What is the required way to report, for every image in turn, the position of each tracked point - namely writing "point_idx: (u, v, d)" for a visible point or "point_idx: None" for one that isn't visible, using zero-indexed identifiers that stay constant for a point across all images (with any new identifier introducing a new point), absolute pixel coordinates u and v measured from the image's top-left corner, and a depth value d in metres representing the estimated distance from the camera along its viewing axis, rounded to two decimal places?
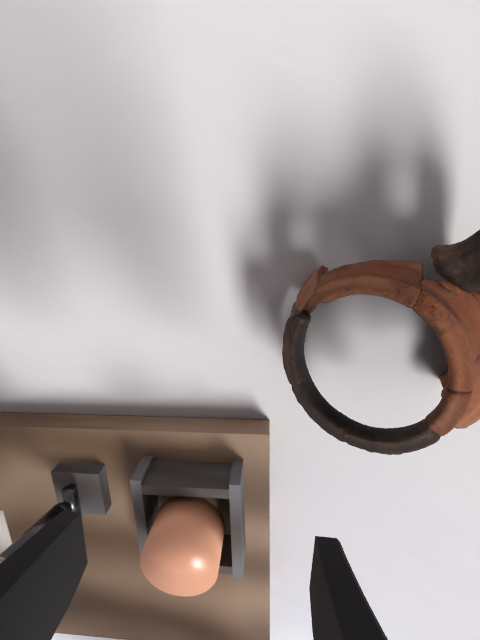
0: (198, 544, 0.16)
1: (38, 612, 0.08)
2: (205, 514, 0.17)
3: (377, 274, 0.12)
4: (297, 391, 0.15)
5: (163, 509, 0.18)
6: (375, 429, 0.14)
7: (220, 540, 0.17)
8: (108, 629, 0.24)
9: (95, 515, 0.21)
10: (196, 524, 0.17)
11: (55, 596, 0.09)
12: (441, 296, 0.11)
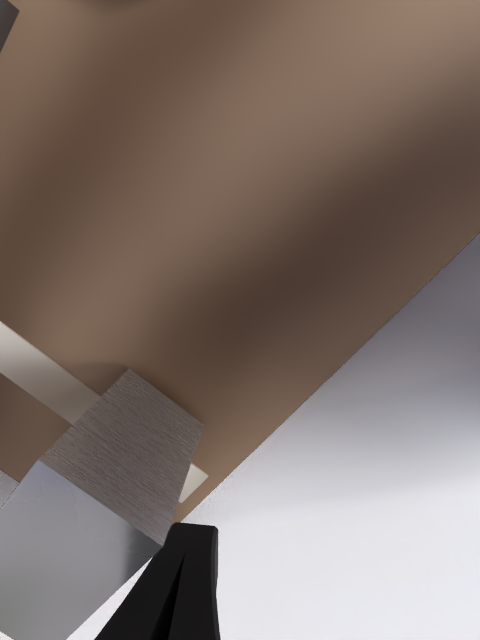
0: None
1: None
2: None
3: None
4: None
5: None
6: None
7: None
8: (314, 349, 0.10)
9: (29, 83, 0.09)
10: None
11: None
12: None
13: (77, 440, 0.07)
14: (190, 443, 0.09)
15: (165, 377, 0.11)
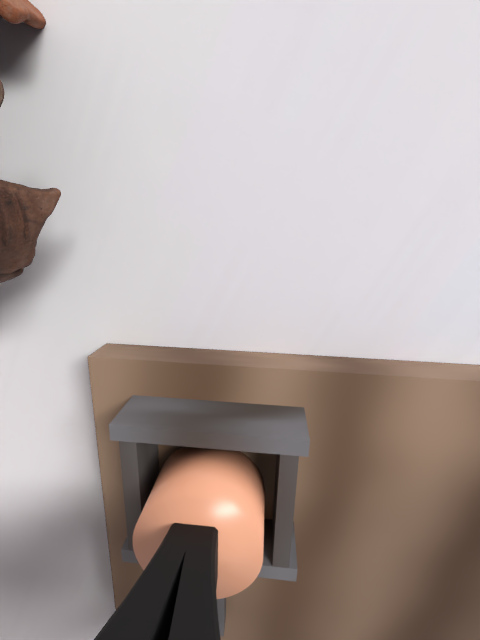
0: (145, 516, 0.10)
1: None
2: (160, 475, 0.11)
3: None
4: None
5: None
6: None
7: (191, 467, 0.11)
8: None
9: (247, 592, 0.15)
10: None
11: None
12: None
13: None
14: None
15: None
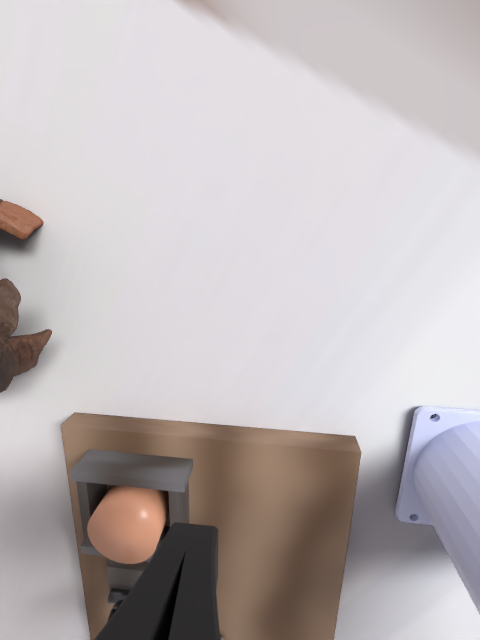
0: (93, 516, 0.18)
1: None
2: None
3: None
4: None
5: None
6: None
7: (122, 489, 0.19)
8: (324, 602, 0.22)
9: None
10: None
11: None
12: None
13: None
14: None
15: (276, 636, 0.23)
